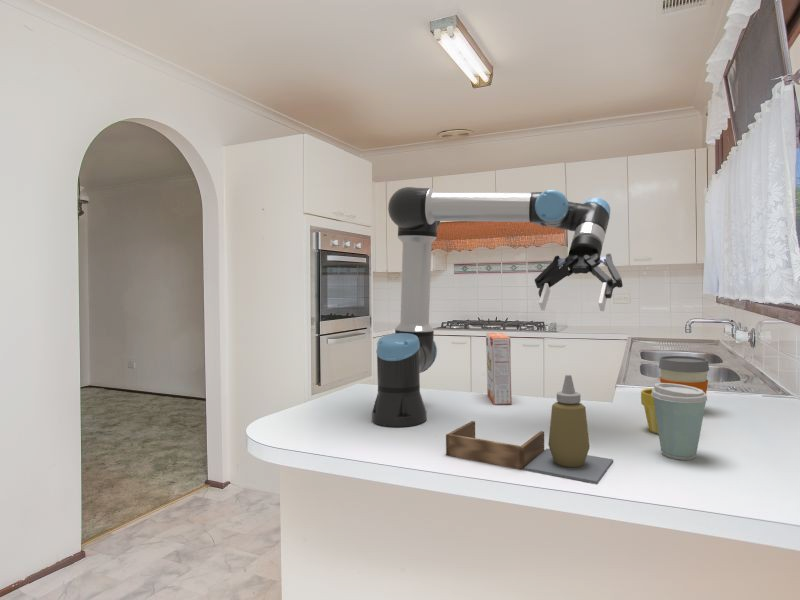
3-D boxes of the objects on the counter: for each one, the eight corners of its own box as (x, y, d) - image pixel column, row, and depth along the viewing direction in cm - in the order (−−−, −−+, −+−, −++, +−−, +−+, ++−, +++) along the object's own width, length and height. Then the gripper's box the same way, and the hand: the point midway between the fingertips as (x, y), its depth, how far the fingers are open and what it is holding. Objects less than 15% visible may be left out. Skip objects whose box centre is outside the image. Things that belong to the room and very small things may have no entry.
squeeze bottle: (593, 471, 102) (592, 379, 101) (550, 469, 103) (549, 378, 103) (586, 457, 109) (586, 372, 109) (546, 455, 111) (546, 371, 110)
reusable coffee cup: (688, 419, 139) (688, 363, 139) (648, 409, 151) (648, 357, 150) (719, 413, 144) (719, 360, 144) (678, 404, 156) (678, 354, 155)
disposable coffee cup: (695, 448, 116) (695, 381, 115) (716, 465, 105) (717, 391, 104) (644, 446, 117) (644, 380, 117) (660, 463, 107) (660, 390, 106)
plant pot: (683, 427, 132) (683, 389, 132) (692, 439, 122) (692, 397, 122) (639, 424, 135) (638, 387, 135) (643, 435, 126) (643, 395, 125)
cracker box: (486, 395, 173) (485, 332, 172) (504, 395, 173) (503, 332, 172) (492, 405, 159) (491, 337, 158) (512, 405, 159) (511, 336, 158)
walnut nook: (446, 454, 114) (445, 434, 114) (472, 439, 125) (472, 420, 125) (523, 469, 104) (523, 447, 104) (544, 451, 115) (544, 431, 115)
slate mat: (524, 470, 104) (524, 467, 104) (546, 450, 116) (546, 448, 116) (596, 484, 96) (596, 481, 96) (613, 461, 108) (613, 459, 108)
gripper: (642, 253, 128) (630, 318, 116) (542, 257, 142) (522, 316, 130) (638, 230, 123) (625, 295, 111) (535, 237, 137) (514, 295, 125)
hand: (570, 307), depth 120 cm, fingers open, 13 cm apart
